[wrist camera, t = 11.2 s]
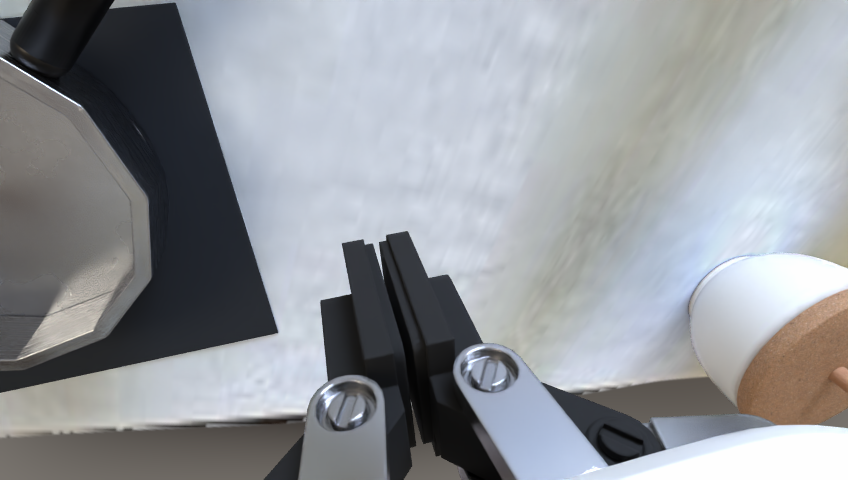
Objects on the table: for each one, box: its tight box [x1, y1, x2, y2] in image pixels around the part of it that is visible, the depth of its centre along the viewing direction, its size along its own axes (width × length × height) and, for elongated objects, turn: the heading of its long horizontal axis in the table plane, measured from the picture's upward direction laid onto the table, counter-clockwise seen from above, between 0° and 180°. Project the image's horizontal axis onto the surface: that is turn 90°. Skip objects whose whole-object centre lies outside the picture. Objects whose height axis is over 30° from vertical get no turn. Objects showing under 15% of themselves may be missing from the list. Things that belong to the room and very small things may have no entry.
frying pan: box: [0, 0, 169, 371], centre depth 16 cm, size 22×13×3 cm, turn 137°
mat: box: [0, 3, 278, 393], centre depth 20 cm, size 16×18×1 cm
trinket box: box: [689, 253, 848, 425], centre depth 29 cm, size 11×11×9 cm
